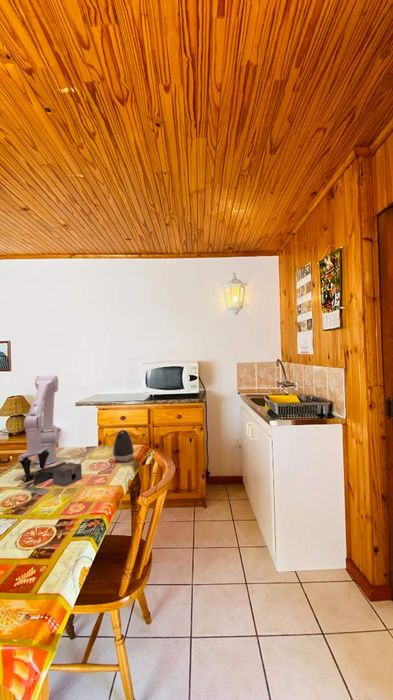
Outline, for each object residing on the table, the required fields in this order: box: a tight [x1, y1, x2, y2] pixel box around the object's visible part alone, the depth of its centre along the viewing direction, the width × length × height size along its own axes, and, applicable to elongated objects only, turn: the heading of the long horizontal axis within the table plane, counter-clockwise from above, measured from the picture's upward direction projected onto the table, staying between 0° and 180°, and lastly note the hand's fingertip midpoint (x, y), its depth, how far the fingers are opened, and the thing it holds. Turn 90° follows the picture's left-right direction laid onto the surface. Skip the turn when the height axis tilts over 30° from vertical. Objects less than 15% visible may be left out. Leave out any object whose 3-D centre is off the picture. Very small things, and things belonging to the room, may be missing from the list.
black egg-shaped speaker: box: [112, 429, 135, 463], centre depth 162 cm, size 10×10×15 cm
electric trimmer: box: [21, 465, 54, 483], centre depth 144 cm, size 4×16×3 cm, turn 143°
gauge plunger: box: [26, 461, 72, 486], centre depth 137 cm, size 12×20×4 cm, turn 155°
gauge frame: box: [20, 462, 83, 496], centre depth 135 cm, size 15×18×6 cm
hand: (34, 471), depth 146 cm, fingers open, 7 cm apart
